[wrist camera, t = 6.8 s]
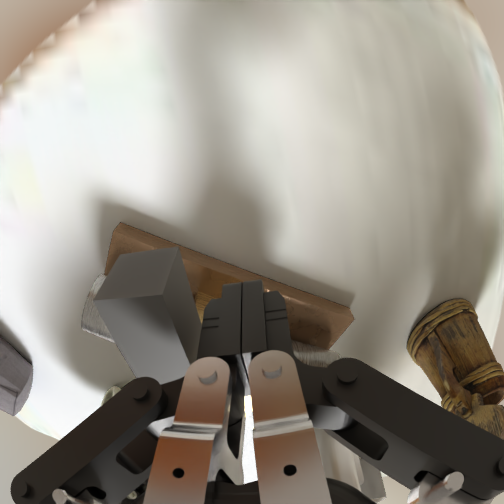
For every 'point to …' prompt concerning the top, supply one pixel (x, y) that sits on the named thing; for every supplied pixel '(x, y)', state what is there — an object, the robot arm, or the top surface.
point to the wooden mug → (460, 364)
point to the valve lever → (151, 313)
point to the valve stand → (210, 287)
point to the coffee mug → (372, 482)
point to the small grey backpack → (13, 379)
